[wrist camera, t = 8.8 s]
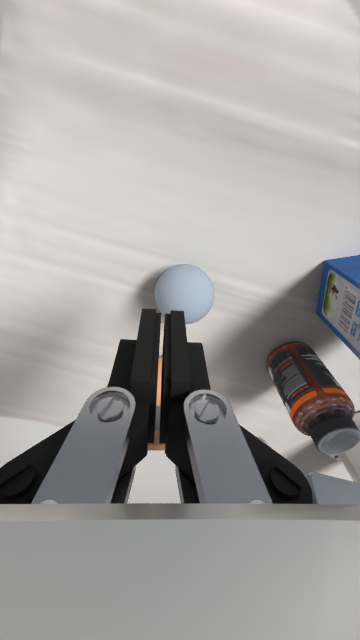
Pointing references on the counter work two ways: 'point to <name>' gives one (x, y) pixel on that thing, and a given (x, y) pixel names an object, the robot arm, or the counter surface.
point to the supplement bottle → (314, 398)
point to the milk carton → (342, 299)
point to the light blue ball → (185, 292)
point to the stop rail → (156, 443)
